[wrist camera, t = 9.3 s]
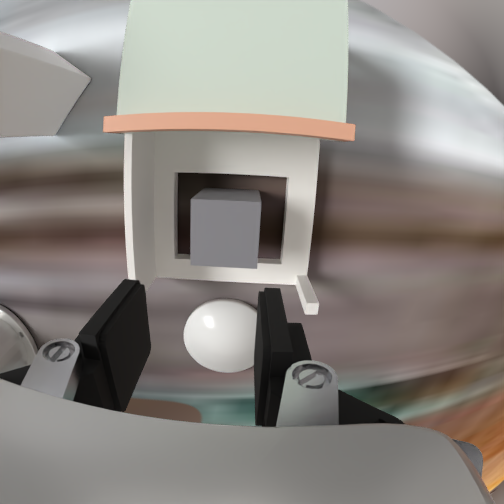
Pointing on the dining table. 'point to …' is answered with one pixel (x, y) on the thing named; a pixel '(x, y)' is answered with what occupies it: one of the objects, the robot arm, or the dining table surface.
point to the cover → (235, 68)
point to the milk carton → (35, 88)
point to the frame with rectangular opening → (225, 162)
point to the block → (225, 228)
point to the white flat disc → (222, 335)
